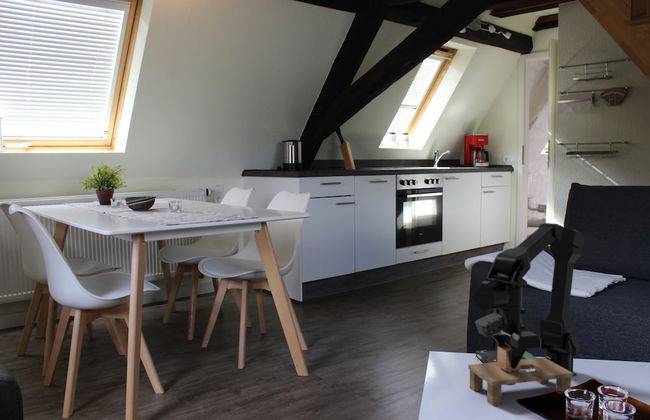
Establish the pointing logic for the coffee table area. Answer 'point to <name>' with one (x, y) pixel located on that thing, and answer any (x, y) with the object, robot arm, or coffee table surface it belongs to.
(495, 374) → the wooden slotted stool
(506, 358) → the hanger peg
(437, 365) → the coffee table surface
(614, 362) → the coffee table surface
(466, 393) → the coffee table surface
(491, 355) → the disk drive
